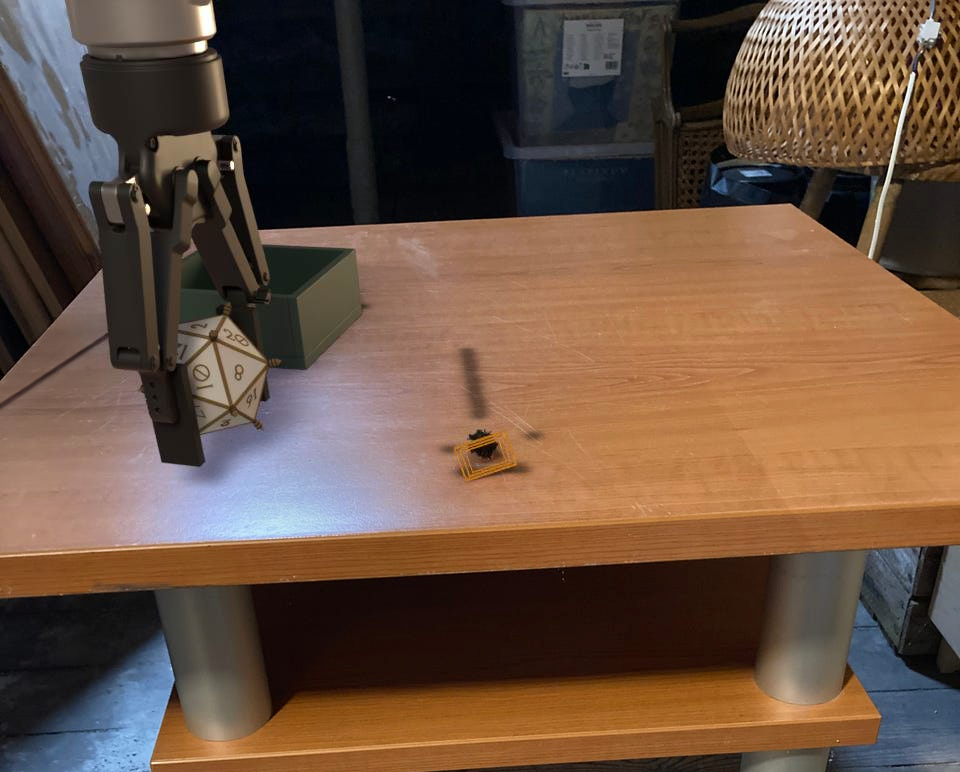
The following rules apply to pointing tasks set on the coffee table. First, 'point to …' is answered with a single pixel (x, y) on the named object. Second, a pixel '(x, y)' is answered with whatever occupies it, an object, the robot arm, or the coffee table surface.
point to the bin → (288, 299)
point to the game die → (222, 372)
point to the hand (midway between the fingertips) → (218, 428)
